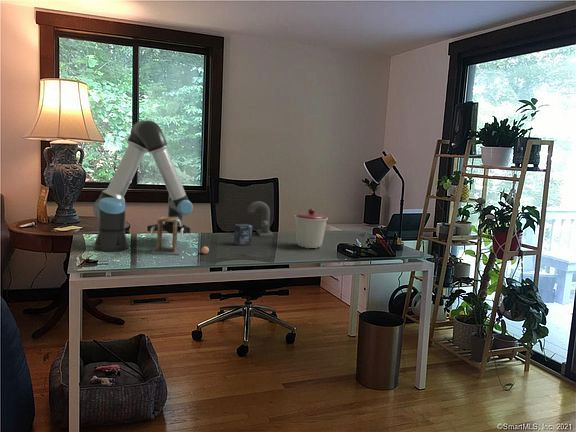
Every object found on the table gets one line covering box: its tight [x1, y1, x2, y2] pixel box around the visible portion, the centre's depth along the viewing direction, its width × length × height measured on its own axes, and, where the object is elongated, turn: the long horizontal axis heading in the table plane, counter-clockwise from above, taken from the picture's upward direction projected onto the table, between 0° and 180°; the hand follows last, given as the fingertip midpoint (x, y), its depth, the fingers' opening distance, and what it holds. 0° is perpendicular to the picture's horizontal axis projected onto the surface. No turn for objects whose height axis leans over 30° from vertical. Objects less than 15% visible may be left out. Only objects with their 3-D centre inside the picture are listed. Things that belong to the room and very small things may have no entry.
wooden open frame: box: [156, 216, 178, 252], centre depth 235 cm, size 8×8×16 cm
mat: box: [150, 246, 183, 256], centre depth 236 cm, size 13×13×1 cm
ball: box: [201, 246, 210, 255], centre depth 236 cm, size 4×4×4 cm
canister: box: [294, 207, 329, 249], centre depth 268 cm, size 18×18×21 cm
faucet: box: [246, 200, 275, 238], centre depth 297 cm, size 18×16×20 cm
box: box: [233, 223, 253, 246], centre depth 264 cm, size 8×6×11 cm
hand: (166, 232), depth 231 cm, fingers open, 13 cm apart
